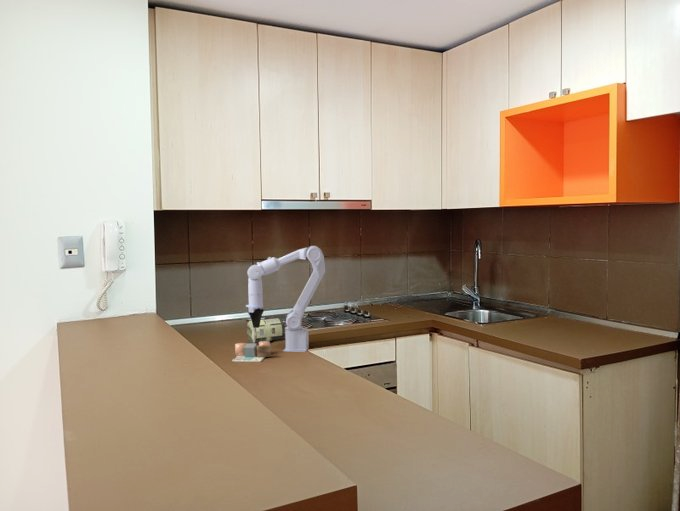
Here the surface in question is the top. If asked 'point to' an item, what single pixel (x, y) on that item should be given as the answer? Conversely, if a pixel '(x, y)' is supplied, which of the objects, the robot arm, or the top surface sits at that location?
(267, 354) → the walnut block
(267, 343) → the peach rounded cylinder
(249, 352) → the matte grey cube
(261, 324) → the coffee can
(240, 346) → the peach glossy domed part
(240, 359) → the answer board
